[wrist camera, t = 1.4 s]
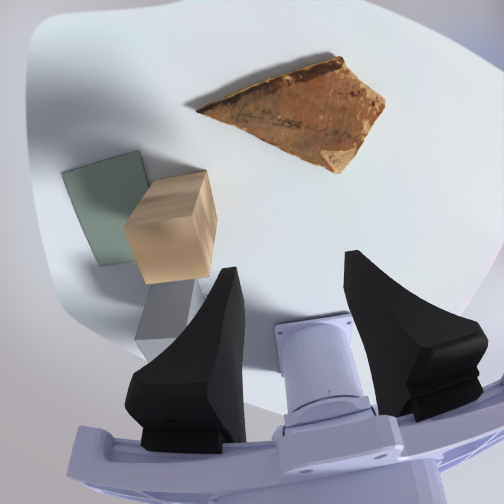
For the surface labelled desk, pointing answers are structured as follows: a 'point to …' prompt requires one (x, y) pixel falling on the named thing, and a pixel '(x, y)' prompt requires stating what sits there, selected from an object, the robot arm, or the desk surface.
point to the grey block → (167, 315)
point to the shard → (306, 113)
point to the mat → (108, 203)
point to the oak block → (174, 229)
